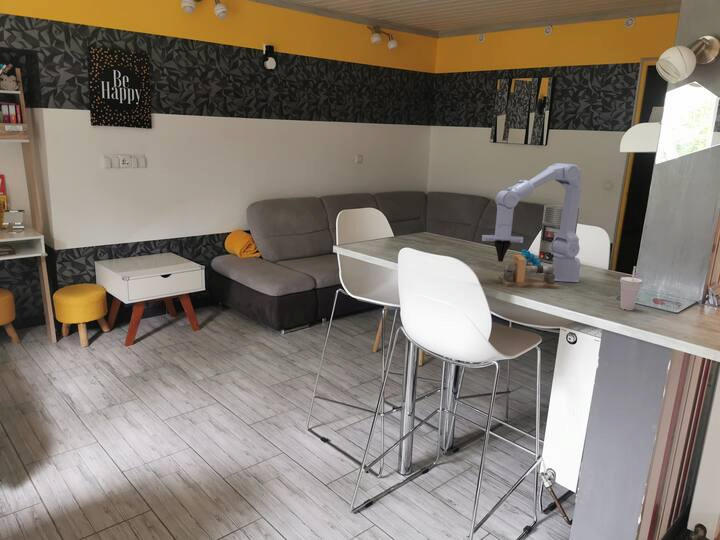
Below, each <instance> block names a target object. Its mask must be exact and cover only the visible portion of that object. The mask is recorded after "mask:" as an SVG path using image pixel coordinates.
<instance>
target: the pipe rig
mask: <svg viewBox="0 0 720 540" xmlns="http://www.w3.org/2000/svg"><path fill="white" fill-rule="evenodd" d="M516 270H517V265H513V264H506V265H505V268H504V269H503V275H499V276H498V279H499V280H500V282H502V284H503V285H504V286H505V287H508V288H509V287H511V288H513V287H515V288H531V289H535V288H536V289H552V290H553V289H555V290H559V289H560V285H559V284H558V283H556V281H554V280H555V275H554V274H553V273H554V267H553V266H543V265H541V266H536V265H535V266H534V265H526V269H525V273H535V274H543V277H534V276H533V277H532V276H531V277H530V276H525V278H524V283H517V282H516V281H515V280H514V279H513V274H514V273H513V272H512V271H514V272H516Z"/></svg>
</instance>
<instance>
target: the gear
mask: <svg viewBox="0 0 720 540" xmlns="http://www.w3.org/2000/svg"><path fill="white" fill-rule="evenodd" d="M520 252H521V254H522V255H521V256H523V257H524V258H525V259H526V266H528V264H529V263H531V264H532V266H542V261H538V257H537V256H535V254H534V253H531V252H530V251H529V250H526V248H524V249H521V251H520Z"/></svg>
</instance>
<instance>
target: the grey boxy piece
mask: <svg viewBox="0 0 720 540" xmlns="http://www.w3.org/2000/svg"><path fill="white" fill-rule="evenodd" d="M562 210H563V205H559V204H544V207H543V214H542V215H543V216H542V223H541V232H540V241H539V242H540V243H539V250H538V257H537V258H538V260H537V261H540V262H541V263H548V264H551V265H553V259H554V255H553V251H552V250H551V243H552V241H553V240H554V236H555V234H556V233H557V232H558V231H559V230H560V223H561V217H562ZM579 213H580V208H578V215H577V221H576V227H575V234H576V235H577V228H578V222H579V221H578V220H579V215H580V214H579Z"/></svg>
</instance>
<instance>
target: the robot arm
mask: <svg viewBox="0 0 720 540" xmlns="http://www.w3.org/2000/svg"><path fill="white" fill-rule="evenodd" d="M581 176H582V169H581V168H580V167H579V166H578V165H577V164H574V163H560V162H556V163H553V164H552V165H549V166H547V168H546V169H545V170H543V171H542V172H540V173H538V174H537V175H535V176H534V177H532V178H531V179H529V180H526V179H520V180H518V183H516V184H514V185H513V186H509V187H507V189H506V190H501V191H498V193H497V194H496V197H495V198H494V202H495V204H496V209H497V210H496V218H495V219H496V220H495V230H494V234H490V235H489V234H482V235H481V241H482V242H493V244H494V247H495V249H496V255H497V261H498V262H499V263H500V262H501V263H502V262H504V258H505V255H506V253H507V252H508V250H509V248H510V247H511V245H512V243H521V244H523V243H524V237H523V236H515V235H512V229H513V222H514V221H513V219H514V211H515V210H514V209H515V207H517V205H518V204H519V202H520V201H522V200H523V199H525V198H527V197H528V196H530V195H532V194H533V193H534V189H536V188H539V187H540V186H542V185H545V184H546V183H548V182H550V181H552V180H553V181H555V182H557V183H559V184H560V185H561V186H562V188H564V190H565V191H564V198H563V203H562V206H563V210H562V217H561V223H560V230H559V231H558V232H557V233H556V234H555V236H554V240H553V241H552V243H551V250H552V251H553V255H554V259H553V264H552V267H554V273H553V274H554V275H555V280H554V282H566V283H567V282H568V283H579V282H580V280H579V276H580V270H581V261H580V258H579V257H577V256H578V255H579V252H580V244H579V242H580V239H579V237H578V235H577V233H576V234H575V227H576V221H577V215H578V216H579V214H578V208H579V207H580V202H581V201H580V200H581V193H582V188H583V183H582V178H581ZM579 209H580V208H579Z"/></svg>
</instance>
